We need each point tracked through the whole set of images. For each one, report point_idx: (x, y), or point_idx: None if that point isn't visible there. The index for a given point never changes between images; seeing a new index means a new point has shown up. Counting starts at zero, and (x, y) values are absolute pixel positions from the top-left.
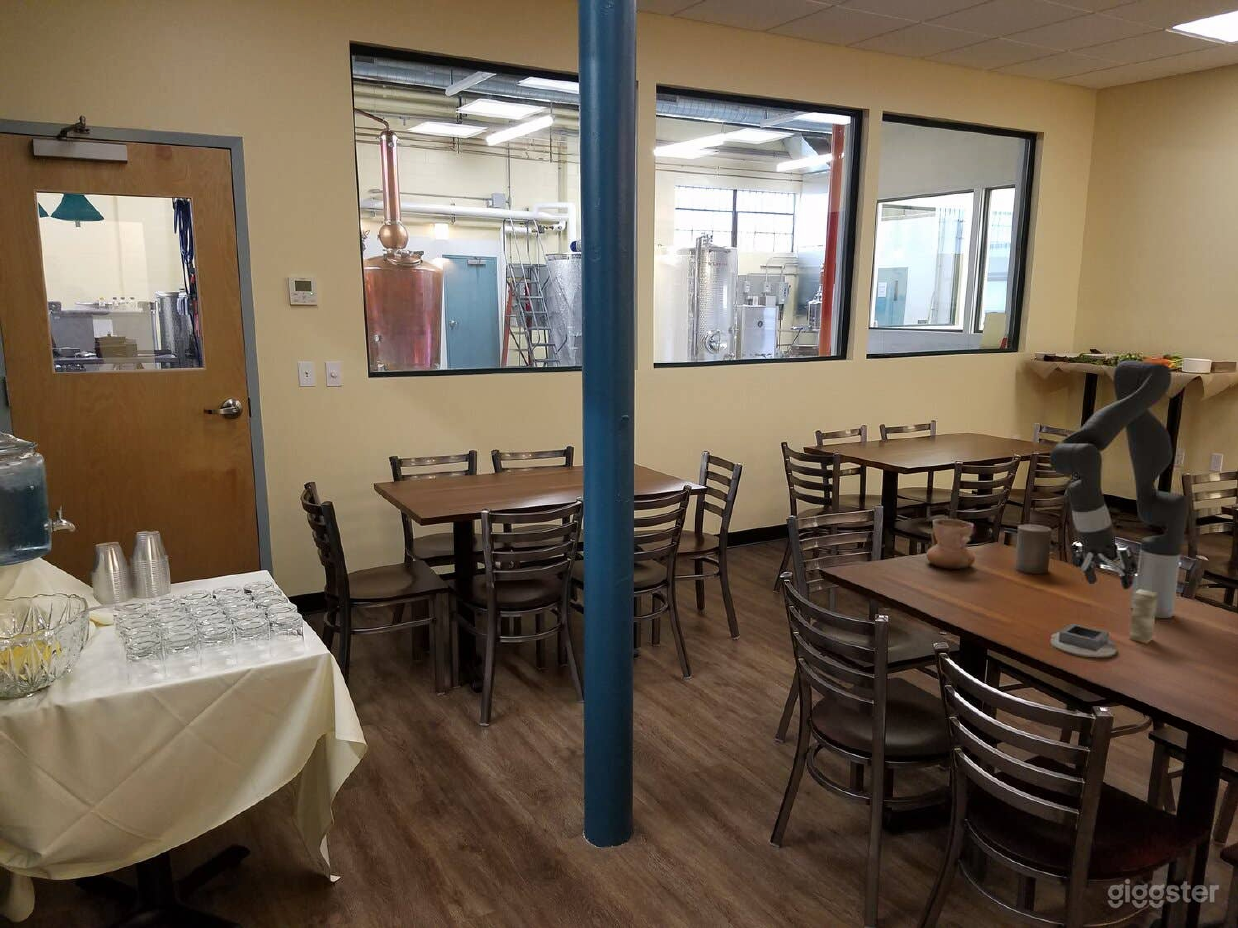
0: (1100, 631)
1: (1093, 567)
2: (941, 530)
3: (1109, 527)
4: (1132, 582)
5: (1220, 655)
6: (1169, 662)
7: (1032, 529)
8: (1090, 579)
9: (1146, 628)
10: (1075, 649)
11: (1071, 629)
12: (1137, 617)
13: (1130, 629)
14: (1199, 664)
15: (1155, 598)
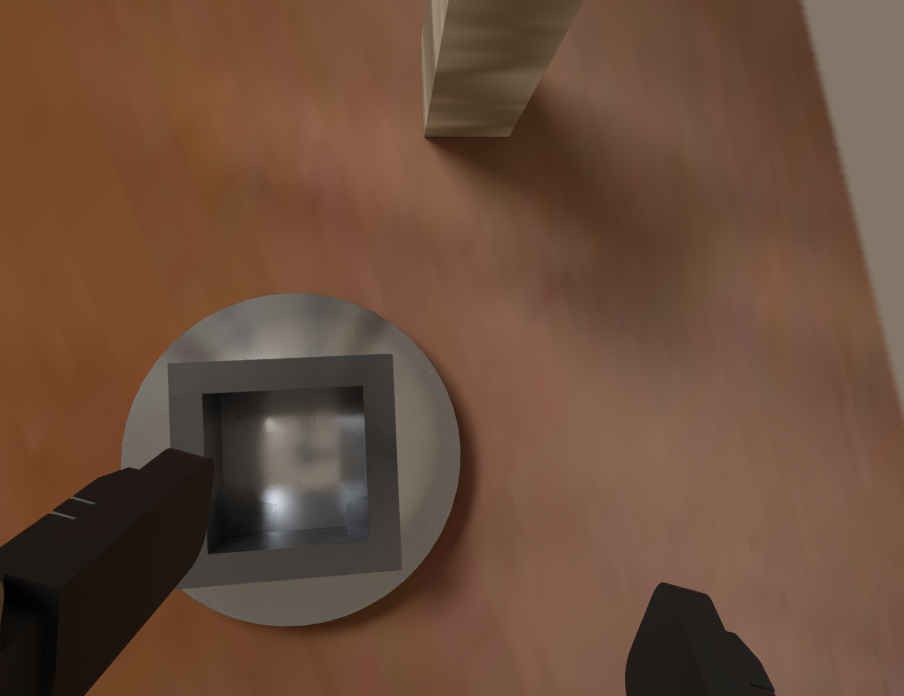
0: (350, 376)
1: (65, 583)
2: None
3: None
4: (762, 671)
5: (785, 52)
6: (664, 334)
7: None
8: (158, 602)
9: (513, 101)
10: (312, 612)
11: None
12: (468, 75)
13: (428, 114)
14: (759, 252)
15: None
